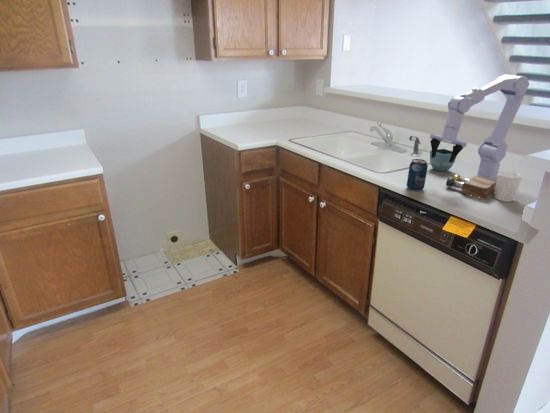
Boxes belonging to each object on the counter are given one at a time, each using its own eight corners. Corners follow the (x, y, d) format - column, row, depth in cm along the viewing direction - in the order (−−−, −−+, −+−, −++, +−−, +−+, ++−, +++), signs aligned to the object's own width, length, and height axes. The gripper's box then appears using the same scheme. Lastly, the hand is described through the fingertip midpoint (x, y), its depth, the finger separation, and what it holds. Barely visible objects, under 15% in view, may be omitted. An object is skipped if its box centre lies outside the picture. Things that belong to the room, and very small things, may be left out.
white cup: (507, 194, 153) (513, 171, 149) (519, 202, 146) (526, 177, 142) (488, 195, 153) (493, 171, 149) (499, 202, 145) (505, 177, 141)
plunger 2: (454, 181, 166) (456, 173, 164) (478, 187, 159) (480, 179, 158) (451, 183, 164) (453, 175, 162) (475, 189, 157) (477, 181, 156)
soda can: (417, 193, 154) (421, 164, 150) (402, 188, 160) (406, 160, 155) (427, 189, 158) (432, 161, 153) (412, 184, 163) (417, 157, 159)
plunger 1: (449, 184, 162) (450, 176, 161) (472, 190, 156) (474, 182, 154) (445, 186, 160) (446, 178, 158) (469, 193, 153) (471, 184, 152)
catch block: (473, 185, 162) (475, 175, 161) (496, 191, 156) (498, 180, 155) (461, 193, 154) (463, 182, 152) (484, 199, 148) (487, 188, 146)
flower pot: (440, 166, 188) (444, 148, 184) (454, 171, 180) (458, 152, 177) (426, 168, 185) (429, 149, 181) (439, 173, 177) (443, 154, 174)
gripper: (430, 123, 156) (421, 155, 161) (466, 131, 147) (455, 165, 152) (437, 123, 161) (428, 154, 166) (472, 131, 152) (461, 164, 157)
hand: (441, 159), depth 159 cm, fingers open, 7 cm apart
